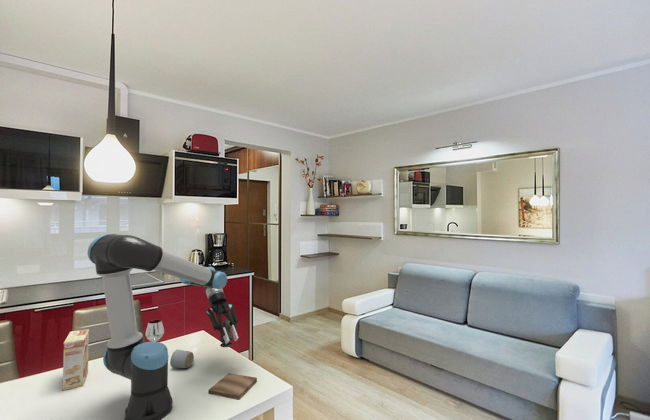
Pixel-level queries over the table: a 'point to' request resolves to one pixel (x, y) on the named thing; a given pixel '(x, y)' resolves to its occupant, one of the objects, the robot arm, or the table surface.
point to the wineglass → (154, 330)
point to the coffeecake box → (75, 359)
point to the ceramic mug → (181, 359)
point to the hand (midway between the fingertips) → (232, 340)
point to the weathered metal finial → (227, 327)
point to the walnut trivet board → (233, 386)
